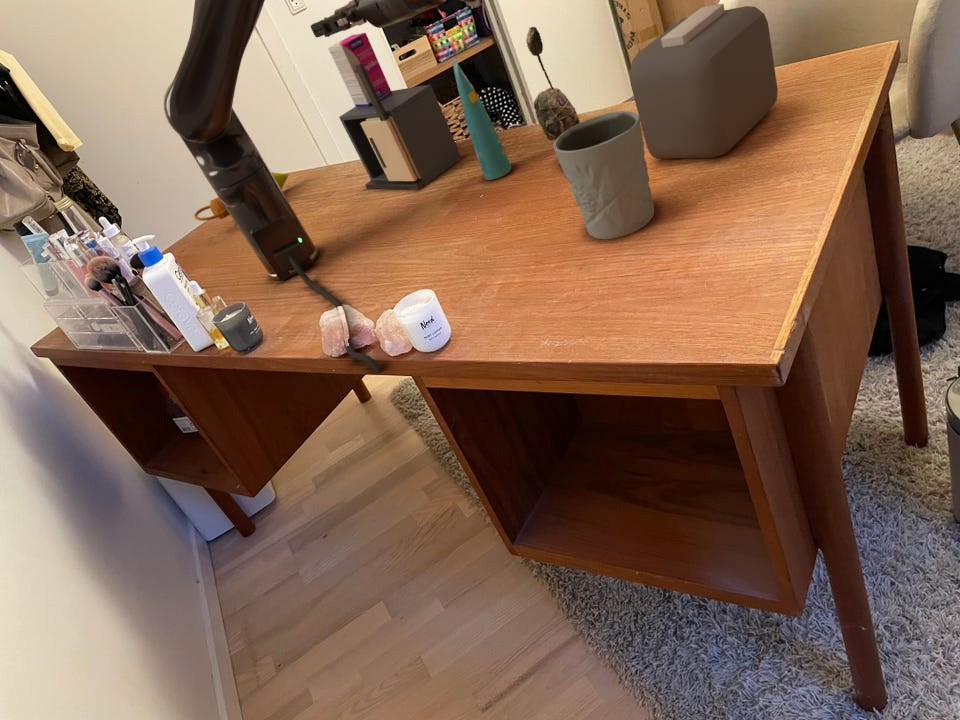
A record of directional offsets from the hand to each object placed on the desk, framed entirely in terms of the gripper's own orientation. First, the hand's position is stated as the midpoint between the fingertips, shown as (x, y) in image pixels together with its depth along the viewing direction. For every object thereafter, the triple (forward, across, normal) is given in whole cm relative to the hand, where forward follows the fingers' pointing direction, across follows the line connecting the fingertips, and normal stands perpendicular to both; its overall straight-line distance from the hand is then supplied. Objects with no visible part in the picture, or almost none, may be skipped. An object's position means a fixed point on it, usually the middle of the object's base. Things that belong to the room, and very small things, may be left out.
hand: (328, 22), depth 123 cm
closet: (-6, +2, +29) cm, 30 cm away
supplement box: (-2, 0, +15) cm, 15 cm away
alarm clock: (-67, +9, +30) cm, 74 cm away
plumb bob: (+38, +9, +30) cm, 50 cm away
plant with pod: (-45, +8, +30) cm, 55 cm away
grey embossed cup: (-60, +29, +30) cm, 73 cm away
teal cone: (-30, +9, +30) cm, 43 cm away
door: (-8, +9, +28) cm, 30 cm away
